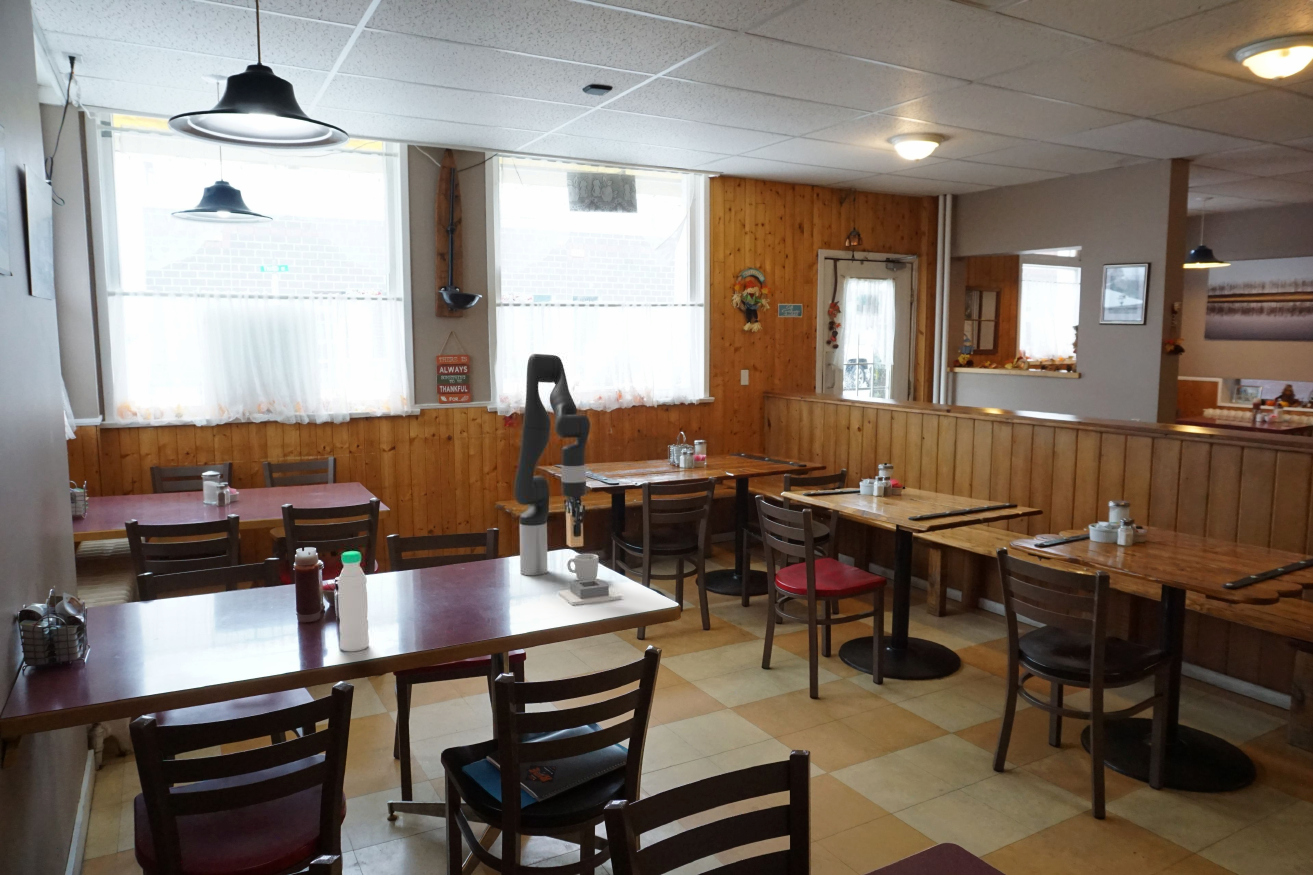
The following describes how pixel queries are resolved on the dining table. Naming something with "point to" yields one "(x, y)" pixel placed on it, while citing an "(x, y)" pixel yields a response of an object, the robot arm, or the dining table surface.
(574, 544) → the light wood tall block
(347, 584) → the water bottle
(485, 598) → the dining table surface
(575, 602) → the socket
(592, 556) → the cup
